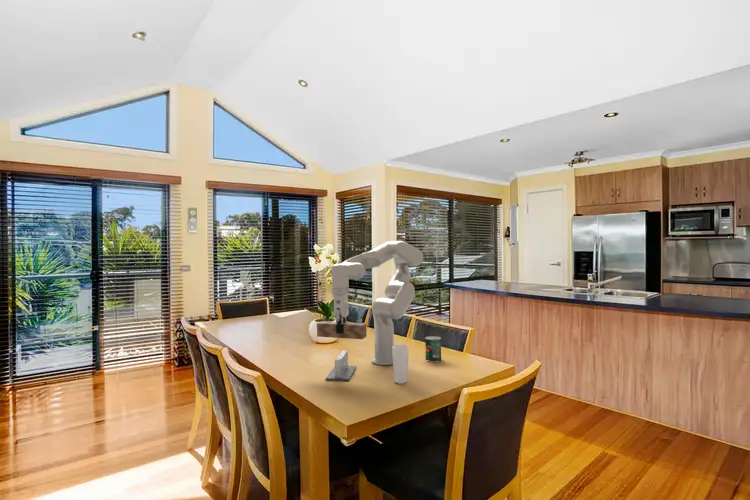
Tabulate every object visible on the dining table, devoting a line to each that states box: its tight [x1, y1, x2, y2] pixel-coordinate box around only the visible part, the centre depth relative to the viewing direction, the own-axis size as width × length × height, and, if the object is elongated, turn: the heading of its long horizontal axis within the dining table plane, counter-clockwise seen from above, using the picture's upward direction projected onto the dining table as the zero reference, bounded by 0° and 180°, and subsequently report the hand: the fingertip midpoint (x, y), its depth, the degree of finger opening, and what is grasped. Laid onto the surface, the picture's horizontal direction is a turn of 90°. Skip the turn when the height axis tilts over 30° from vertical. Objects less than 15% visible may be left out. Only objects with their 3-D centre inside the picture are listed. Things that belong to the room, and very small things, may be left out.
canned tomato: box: [424, 335, 442, 362], centre depth 193 cm, size 8×8×11 cm
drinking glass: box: [392, 343, 409, 385], centre depth 161 cm, size 7×7×15 cm
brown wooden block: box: [316, 320, 367, 340], centre depth 172 cm, size 22×5×6 cm, turn 70°
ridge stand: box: [325, 349, 357, 382], centre depth 172 cm, size 10×18×8 cm, turn 172°
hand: (341, 331), depth 172 cm, fingers closed on brown wooden block, 5 cm apart
